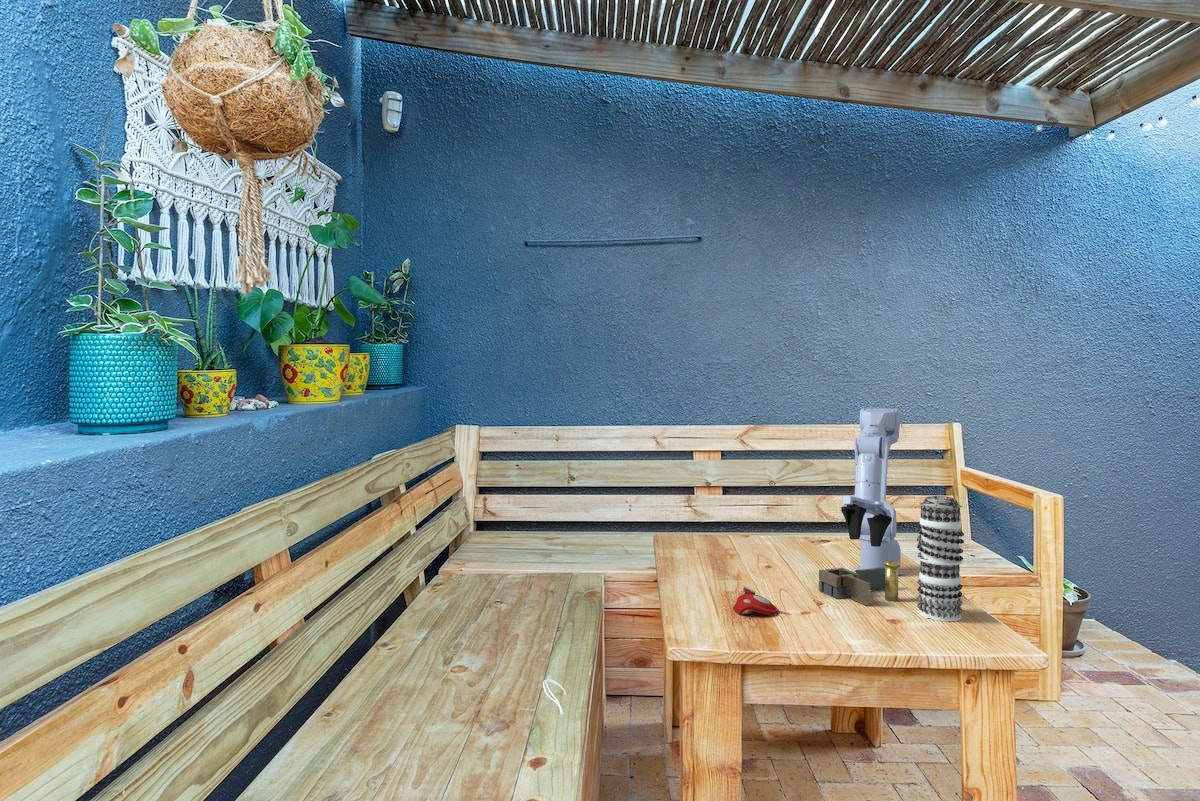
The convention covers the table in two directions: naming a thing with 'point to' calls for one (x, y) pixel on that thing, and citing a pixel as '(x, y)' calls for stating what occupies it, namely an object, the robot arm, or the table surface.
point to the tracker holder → (754, 603)
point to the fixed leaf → (868, 575)
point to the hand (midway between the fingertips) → (865, 542)
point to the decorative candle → (939, 559)
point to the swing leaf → (847, 583)
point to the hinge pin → (891, 580)
